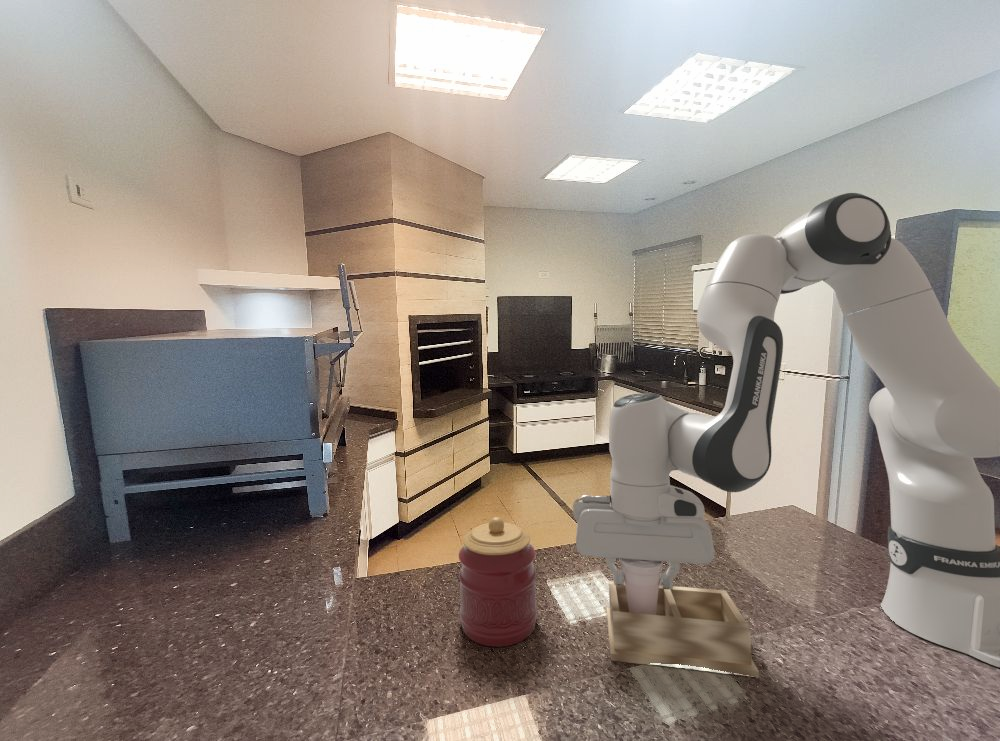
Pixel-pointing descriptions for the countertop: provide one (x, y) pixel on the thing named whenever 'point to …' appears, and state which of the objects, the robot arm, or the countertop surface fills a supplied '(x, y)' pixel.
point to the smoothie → (642, 584)
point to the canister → (497, 584)
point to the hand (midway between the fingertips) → (642, 585)
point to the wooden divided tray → (681, 630)
